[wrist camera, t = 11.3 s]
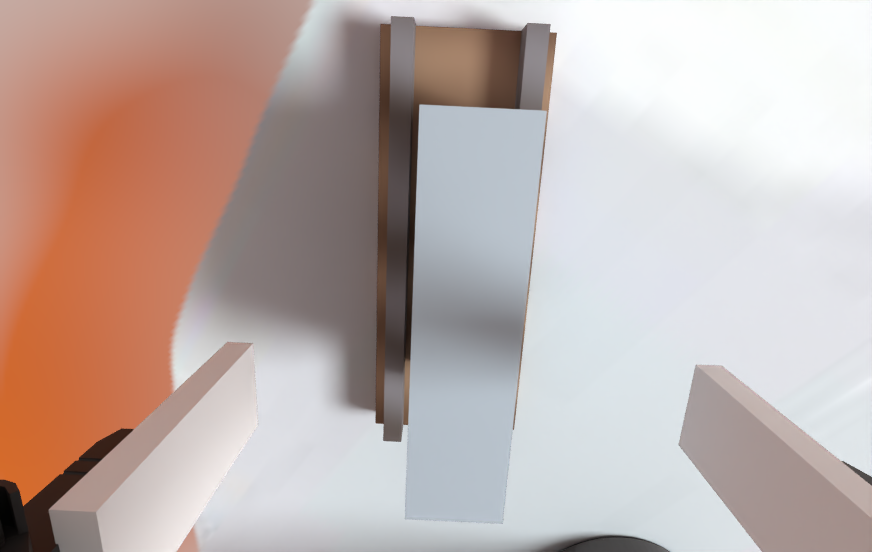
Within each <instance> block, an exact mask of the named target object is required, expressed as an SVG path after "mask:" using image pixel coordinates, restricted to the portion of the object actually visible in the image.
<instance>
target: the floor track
mask: <svg viewBox="0 0 872 552" xmlns="http://www.w3.org/2000/svg"><path fill="white" fill-rule="evenodd" d="M556 36H557V33H550V24H536V23H527V25H526V26H525V27H524V29H523V30H522V31H509V30H489V29H469V28H449V27H429V26H416V24H415V20H414V17H396V16H391V25H389V24H381V30H380V109H379V189H378V269H377V349H376V423H380V424H384V435H383V441H396V442H401V438H402V430H403V425H408V417H409V389H410V360H411V332H412V303H413V275H414V246H415V218H416V189H417V161H418V132H419V104H420V105H440V106H460V107H480V108H501V109H521V110H541V111H547V114H546V124H545V133H544V142H543V151H542V161H541V170H540V179H539V189H538V198H537V207H536V217H535V226H534V235H533V245H532V254H531V263H530V273H529V282H528V291H527V301H526V310H525V319H524V328H523V338H522V347H521V356H520V366H519V375H518V384H517V394H516V403H515V412H514V422H513V430H514V424H515V415H516V405H517V396H518V387H519V378H520V368H521V359H522V350H523V341H524V331H525V322H526V313H527V304H528V294H529V285H530V276H531V267H532V257H533V248H534V239H535V230H536V220H537V211H538V202H539V193H540V183H541V174H542V165H543V156H544V147H545V137H546V128H547V119H548V110H549V100H550V91H551V82H552V73H553V63H554V54H555V45H556Z"/></svg>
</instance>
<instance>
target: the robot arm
mask: <svg viewBox="0 0 872 552" xmlns="http://www.w3.org/2000/svg"><path fill="white" fill-rule="evenodd" d="M257 426H258V412H257V396H256V380H255V364H254V348H253V343H235V342H227V343H226V344H225V345H224V346H223V347H222V348H220V349H219V350H218V351H217V352H216V353H215V354H214V355H213V356H212V357H211V358H210V359H209V360H208V361H207V362H206V363H204V364H203V365H202V366H201V367H200V368H199V369H198V370H197V371H196V372H195V373H194V374H193V375H192V376H191V377H190V378H188V379H187V380H186V381H185V382H184V383H183V384H182V385H181V386H180V387H179V388H178V389H177V390H176V391H175V392H174V393H172V394H171V395H170V396H169V397H168V398H167V399H166V400H165V401H164V402H163V403H162V404H161V405H160V406H159V407H158V408H156V409H155V410H154V411H153V412H152V413H151V414H150V415H149V416H148V417H147V418H146V419H145V420H144V421H143V422H142V423H141V424H139V425H138V426H137V427H136V428H135V429H120V430H118V431H116V432H115V433H113V434H111V435H109V436H107V437H105V438H103V439H102V440H100V441H98V442H96V443H95V444H94V445H93V446H92V447H91V448H90V449H88V450H87V451H86V452H85V453H84V454H83V455H82V456H81V457H79V460H78V461H75V462H74V463H73V464H71V465H70V466H69V467H68V468H67V469H66V470H65V471H64V473H63V474H60V475H59V476H58V477H56V478H55V479H54V480H53V481H52V482H51V483H50V484H48V485H47V486H46V487H45V488H44V489H43V490H42V491H41V492H39V493H38V494H37V495H36V496H35V497H33V499H31V500H30V501H29V502H28V503H27V504H25V505H24V506H23V505H22V500H21V496H20V492H19V489H18V488H17V485H16V483H13V482H10V481H6V480H0V552H177V550H178V549H179V547H180V545H181V544H182V542H183V541H184V539H185V538H186V536H187V534H188V533H189V532H190V530H191V528H192V527H193V525H194V524H195V522H196V521H197V519H198V518H199V516H200V515H201V513H202V511H203V510H204V508H205V507H206V505H207V504H208V502H209V501H210V499H211V498H212V496H213V494H214V493H215V491H216V490H217V488H218V487H219V485H220V484H221V482H222V480H223V479H224V477H225V476H226V474H227V473H228V471H229V470H230V468H231V467H232V465H233V463H234V462H235V460H236V459H237V457H238V456H239V454H240V453H241V451H242V449H243V448H244V446H245V445H246V443H247V442H248V440H249V439H250V437H251V436H252V434H253V432H254V431H255V429H256V428H257ZM679 446H680V447H681V449H682V450H683V451H684V453H685V454H686V455H687V456H688V458H689V459H690V460H691V461H692V463H693V464H694V465H695V467H696V468H697V469H698V470H699V472H700V473H701V474H702V476H703V477H704V478H705V479H706V481H707V482H708V483H709V484H710V486H711V487H712V488H713V490H714V491H715V492H716V493H717V495H718V496H719V497H720V499H721V500H722V501H723V502H724V504H725V505H726V506H727V507H728V509H729V510H730V511H731V513H732V514H733V515H734V516H735V518H736V519H737V520H738V522H739V523H740V524H741V525H742V527H743V528H744V529H745V530H746V532H747V533H748V534H749V536H750V537H751V538H752V539H753V541H754V542H755V543H756V545H757V546H758V547H759V548H760V550H761V551H762V552H872V477H871V476H869V475H867V474H865V473H864V472H862V471H860V470H858V469H856V468H855V467H853V466H851V465H849V464H847V463H845V462H844V461H840V460H839V459H838V458H836V457H835V456H834V455H833V454H831V453H830V452H829V451H828V450H826V449H825V448H824V447H823V446H821V445H820V444H819V443H818V442H816V441H815V440H814V439H813V438H811V437H810V436H809V435H808V434H806V433H805V432H804V431H803V430H801V429H800V428H799V427H798V426H796V425H795V424H794V423H793V422H791V421H790V420H789V419H788V418H786V417H785V416H784V415H783V414H781V413H780V412H779V411H778V410H776V409H775V408H774V407H773V406H771V405H770V404H769V403H768V402H766V401H765V400H764V399H763V398H761V397H760V396H759V395H758V394H756V393H755V392H754V391H753V390H751V389H750V388H749V387H748V386H746V385H745V384H744V383H743V382H741V381H740V380H739V379H738V378H736V377H735V376H734V375H733V374H731V373H730V372H729V371H728V370H726V369H725V368H724V367H723V366H715V365H696V366H695V371H694V376H693V380H692V385H691V390H690V394H689V399H688V404H687V408H686V413H685V417H684V422H683V427H682V431H681V436H680V441H679ZM561 552H670V551H668V550H666V549H664V548H663V547H661V546H658V545H656V544H653V543H650V542H647V541H643V540H639V539H633V538H623V537H612V538H601V539H595V540H590V541H586V542H583V543H579V544H577V545H574V546H571V547H569V548H567V549H565V550H563V551H561Z"/></svg>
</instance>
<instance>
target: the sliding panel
mask: <svg viewBox="0 0 872 552" xmlns="http://www.w3.org/2000/svg"><path fill="white" fill-rule="evenodd" d="M546 114H547V111H541V110H521V109H501V108H480V107H460V106H440V105H420V104H419V132H418V161H417V189H416V218H415V246H414V275H413V303H412V332H411V360H410V389H409V417H408V446H407V474H406V503H405V519H412V520H433V521H455V522H476V523H498V524H503V515H504V505H505V496H506V487H507V478H508V468H509V459H510V450H511V440H512V431H513V422H514V412H515V403H516V394H517V384H518V375H519V366H520V356H521V347H522V338H523V328H524V319H525V310H526V301H527V291H528V282H529V273H530V263H531V254H532V245H533V235H534V226H535V217H536V207H537V198H538V189H539V179H540V170H541V161H542V151H543V142H544V133H545V124H546Z"/></svg>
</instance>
